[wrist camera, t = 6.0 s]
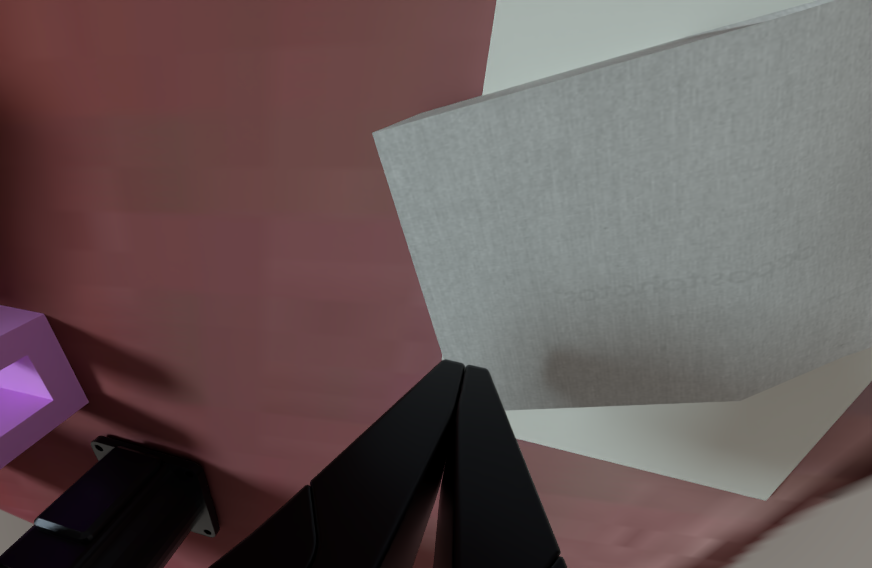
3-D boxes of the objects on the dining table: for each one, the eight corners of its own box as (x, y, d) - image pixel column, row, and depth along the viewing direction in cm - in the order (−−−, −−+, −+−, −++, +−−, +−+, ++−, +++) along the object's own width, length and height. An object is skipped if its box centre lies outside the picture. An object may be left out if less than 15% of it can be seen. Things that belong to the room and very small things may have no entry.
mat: (761, 492, 14) (765, 500, 14) (434, 411, 16) (432, 417, 15) (1159, 30, 7) (1182, 28, 7) (503, -33, 9) (502, -37, 9)
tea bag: (460, 412, 10) (1017, 389, 7) (371, 133, 7) (1244, -114, 4) (477, 328, 13) (864, 287, 10) (421, 112, 10) (932, -35, 7)
